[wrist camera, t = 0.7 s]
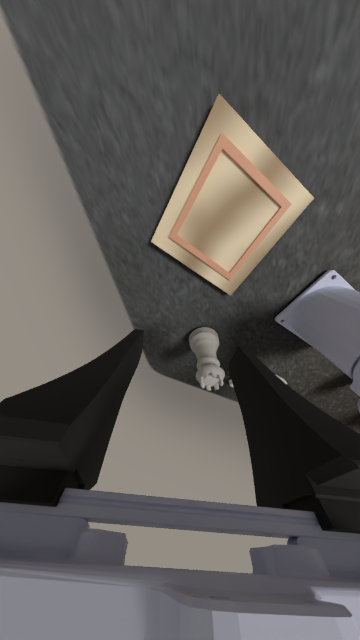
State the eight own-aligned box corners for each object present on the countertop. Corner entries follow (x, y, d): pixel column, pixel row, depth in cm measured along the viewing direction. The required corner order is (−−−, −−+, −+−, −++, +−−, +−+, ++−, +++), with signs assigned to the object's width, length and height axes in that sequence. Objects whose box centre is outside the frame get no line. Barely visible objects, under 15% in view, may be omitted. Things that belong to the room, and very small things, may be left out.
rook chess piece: (212, 321, 21) (226, 363, 14) (221, 343, 23) (237, 390, 16) (183, 331, 22) (183, 375, 15) (195, 351, 24) (199, 399, 17)
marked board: (307, 200, 14) (315, 197, 13) (228, 293, 19) (231, 296, 18) (216, 102, 11) (219, 90, 10) (152, 241, 16) (150, 241, 15)
